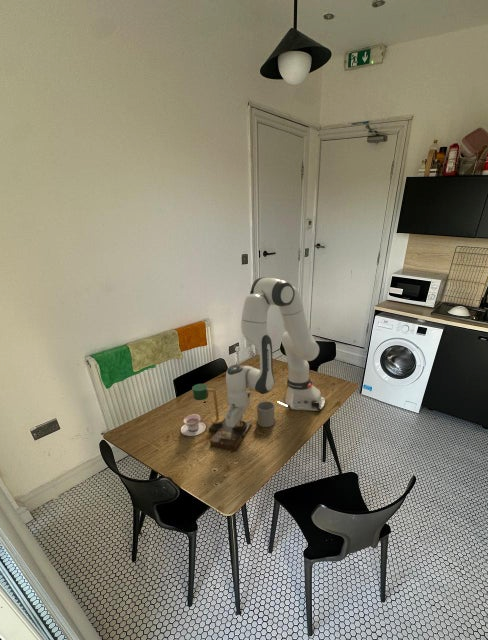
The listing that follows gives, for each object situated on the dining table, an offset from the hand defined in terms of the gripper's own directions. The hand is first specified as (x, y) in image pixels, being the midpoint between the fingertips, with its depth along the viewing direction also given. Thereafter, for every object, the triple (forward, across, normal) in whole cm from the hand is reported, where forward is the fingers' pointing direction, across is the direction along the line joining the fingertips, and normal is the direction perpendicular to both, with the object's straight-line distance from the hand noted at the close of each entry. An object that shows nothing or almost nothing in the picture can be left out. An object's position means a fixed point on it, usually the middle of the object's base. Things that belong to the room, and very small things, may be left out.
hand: (239, 424), depth 155 cm
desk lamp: (0, 0, +15) cm, 15 cm away
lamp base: (+4, 0, +5) cm, 6 cm away
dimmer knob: (+1, -11, +2) cm, 11 cm away
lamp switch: (+2, 0, 0) cm, 2 cm away
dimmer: (+4, -11, +2) cm, 12 cm away
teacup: (+4, -6, +22) cm, 23 cm away
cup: (+4, +10, -10) cm, 15 cm away
